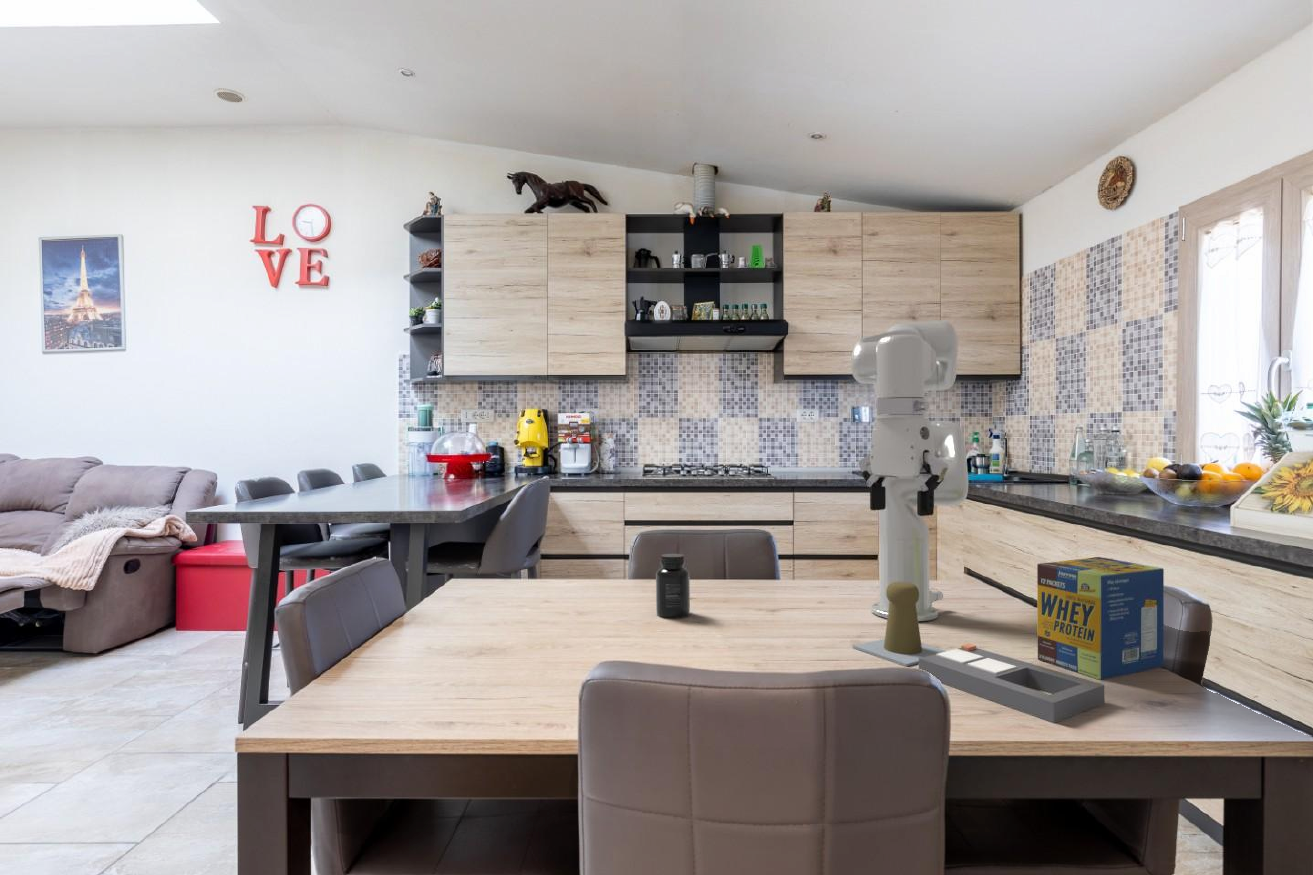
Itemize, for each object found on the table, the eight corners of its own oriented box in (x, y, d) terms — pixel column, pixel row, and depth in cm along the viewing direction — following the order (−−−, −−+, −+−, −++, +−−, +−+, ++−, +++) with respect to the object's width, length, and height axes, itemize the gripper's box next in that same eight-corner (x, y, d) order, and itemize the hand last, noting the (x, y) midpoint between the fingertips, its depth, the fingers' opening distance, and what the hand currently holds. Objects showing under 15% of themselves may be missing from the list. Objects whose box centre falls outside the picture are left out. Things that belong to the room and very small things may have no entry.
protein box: (1035, 659, 109) (1035, 563, 109) (1099, 647, 115) (1098, 556, 115) (1100, 681, 99) (1100, 575, 99) (1166, 666, 105) (1165, 566, 105)
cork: (878, 643, 116) (877, 579, 116) (912, 642, 117) (912, 578, 117) (892, 654, 110) (891, 586, 110) (928, 654, 110) (928, 586, 111)
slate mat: (897, 638, 121) (897, 635, 121) (951, 654, 111) (951, 652, 111) (853, 647, 115) (853, 645, 115) (906, 666, 106) (906, 663, 106)
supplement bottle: (696, 613, 139) (695, 554, 139) (679, 620, 133) (678, 559, 133) (667, 608, 142) (667, 551, 142) (649, 615, 137) (649, 556, 137)
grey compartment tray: (969, 661, 108) (969, 642, 108) (1104, 703, 91) (1104, 680, 91) (918, 674, 102) (918, 654, 102) (1053, 722, 85) (1053, 698, 85)
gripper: (960, 408, 108) (961, 516, 108) (875, 412, 123) (875, 506, 123) (929, 407, 104) (930, 519, 104) (845, 411, 119) (845, 509, 119)
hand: (900, 512), depth 113 cm, fingers open, 9 cm apart
